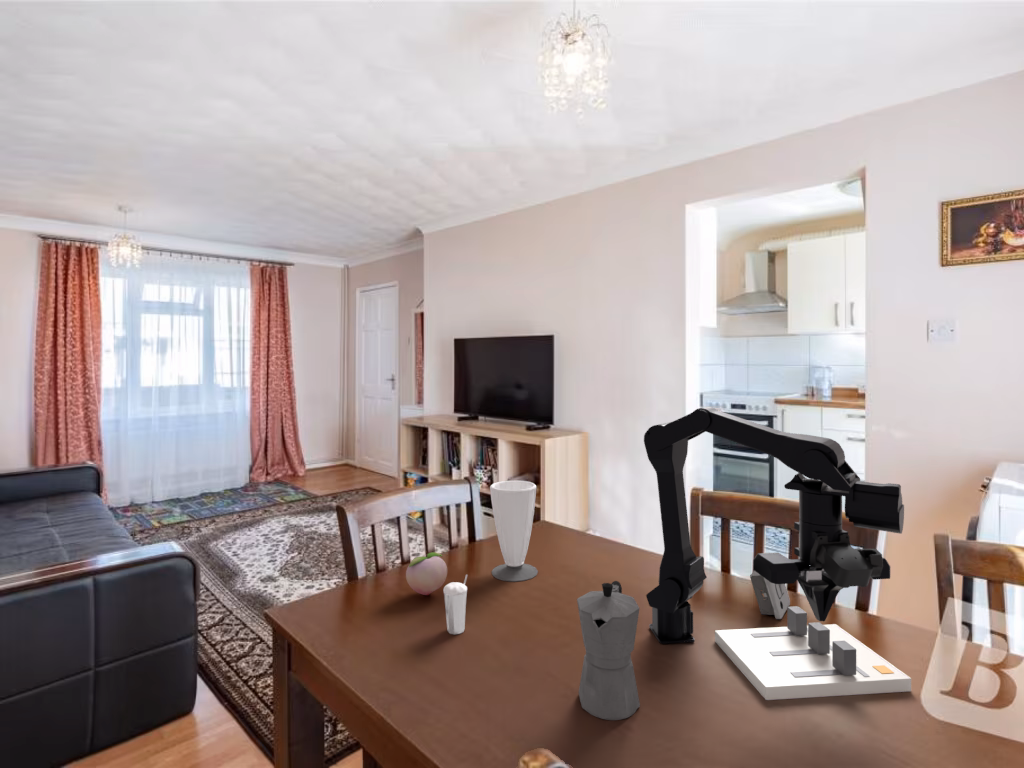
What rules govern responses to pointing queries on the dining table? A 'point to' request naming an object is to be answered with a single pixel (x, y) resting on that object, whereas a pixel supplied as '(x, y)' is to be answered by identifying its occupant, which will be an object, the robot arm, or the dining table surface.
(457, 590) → the milkshake
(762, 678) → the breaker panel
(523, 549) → the cup
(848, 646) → the block
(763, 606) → the electrical switch
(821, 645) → the handle
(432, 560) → the decorative fruit
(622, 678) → the coffeepot
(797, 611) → the far breaker handle
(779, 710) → the dining table surface
